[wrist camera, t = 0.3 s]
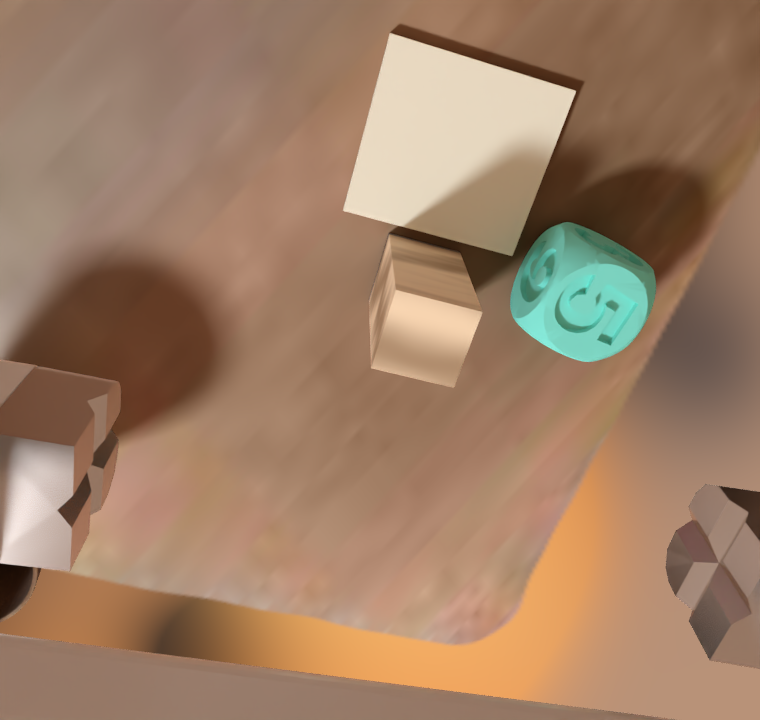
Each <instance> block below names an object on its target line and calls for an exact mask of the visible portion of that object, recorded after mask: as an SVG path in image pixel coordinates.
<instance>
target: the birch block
mask: <svg viewBox="0 0 760 720" xmlns="http://www.w3.org/2000/svg"><path fill="white" fill-rule="evenodd" d="M481 315H482V309H481V306H480V304H479V301H478V298H477V296H476V293H475V290H474V288H473V285H472V282H471V280H470V277H469V274H468V272H467V269H466V266H465V264H464V261H463V258H462V256H461V253H460V252H459V251H456V250H452V249H448V248H444V247H441V246H437V245H433V244H429V243H426V242H422V241H418V240H414V239H411V238H407V237H403V236H400V235H396V234H392V233H389V234H388V238H387V241H386V244H385V248H384V251H383V254H382V258H381V261H380V264H379V268H378V271H377V274H376V278H375V281H374V284H373V288H372V291H371V294H370V298H369V317H370V347H371V368H373V369H377V370H381V371H385V372H389V373H394V374H398V375H402V376H406V377H411V378H415V379H419V380H423V381H427V382H432V383H436V384H440V385H444V386H449V387H453V388H454V386H455V383H456V381H457V378H458V375H459V373H460V370H461V367H462V365H463V362H464V360H465V357H466V354H467V352H468V349H469V346H470V344H471V341H472V339H473V336H474V333H475V331H476V328H477V326H478V323H479V320H480V318H481Z"/></svg>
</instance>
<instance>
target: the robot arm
mask: <svg viewBox="0 0 760 720" xmlns="http://www.w3.org/2000/svg"><path fill="white" fill-rule="evenodd" d="M120 411H121V387H120V384H119V381H114V380H109V379H104V378H99V377H93V376H88V375H83V374H78V373H73V372H67V371H62V370H57V369H52V368H47V367H38V366H37V365H33V364H27V363H20V362H14V361H8V360H1V359H0V563H2V564H11V565H20V566H28V567H37V568H46V569H55V570H64V571H70V570H71V568H72V566H73V564H74V562H75V560H76V558H77V556H78V554H79V552H80V550H81V548H82V546H83V544H84V542H85V540H86V538H87V536H88V534H89V526H90V515H91V514H93V513H95V512H97V511H99V510H101V508H102V506H103V504H104V502H105V499H106V497H107V495H108V492H109V489H110V486H111V482H112V479H113V476H114V472H115V466H116V460H117V453H118V441H119V440H118V438H117V437H116V435H115V434H114V432H113V431H112V430H111V428H112V426H113V424H114V422H115V420H116V419H117V417H118V415H119V413H120ZM689 510H690V514H691V517H692V521H690V522H689V523H687V524H685V525H684V526H682V527H681V528H679V529H678V530H676V532H675V534H674V536H673V538H672V540H671V542H670V544H669V547H668V549H667V560H666V571H667V576H668V581H669V583H670V585H671V587H672V590H673V591H674V594H675V595H676V597H678V598H679V599H680V600H681V601H682V602H684V603H685V604H686V605H687V606H688V607H689V608H691V609H692V613H691V616H690V619H689V622H690V624H691V626H692V628H693V630H694V631H695V633H696V635H697V637H698V639H699V641H700V643H701V645H702V646H703V648H704V650H705V652H706V654H707V656H708V658H709V660H711V661H716V662H722V663H728V664H734V665H740V666H746V667H753V668H758V669H760V492H757V491H750V490H743V489H736V488H729V487H722V486H715V485H707V484H705V485H704V486H703V487H702V488H701V489H700V490H699V491H697V492H696V494H695V496H694V498H693V499H692V501H691V503H690V505H689ZM0 720H675V719H667V718H659V717H651V716H644V715H636V714H628V713H620V712H612V711H604V710H596V709H588V708H580V707H572V706H564V705H556V704H548V703H540V702H532V701H524V700H516V699H508V698H500V697H493V696H485V695H477V694H469V693H461V692H453V691H445V690H437V689H430V688H422V687H414V686H406V685H399V684H391V683H382V682H375V681H367V680H359V679H351V678H343V677H336V676H327V675H320V674H312V673H304V672H297V671H288V670H281V669H273V668H265V667H257V666H250V665H241V664H234V663H226V662H218V661H210V660H203V659H195V658H186V657H179V656H171V655H163V654H155V653H148V652H140V651H132V650H124V649H116V648H109V647H101V646H92V645H85V644H77V643H69V642H62V641H54V640H45V639H38V638H30V637H22V636H13V635H7V634H0Z"/></svg>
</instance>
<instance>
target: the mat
mask: <svg viewBox="0 0 760 720" xmlns="http://www.w3.org/2000/svg"><path fill="white" fill-rule="evenodd" d="M575 93H576V91H575V90H573V89H570V88H566V87H563V86H560V85H557V84H553V83H550V82H547V81H544V80H541V79H537V78H534V77H531V76H528V75H525V74H521V73H518V72H515V71H512V70H509V69H505V68H502V67H499V66H496V65H492V64H489V63H486V62H483V61H480V60H476V59H473V58H470V57H467V56H464V55H460V54H457V53H454V52H451V51H448V50H444V49H441V48H438V47H435V46H431V45H428V44H425V43H422V42H419V41H415V40H412V39H409V38H406V37H403V36H399V35H396V34H393V33H390V34H389V38H388V42H387V46H386V49H385V53H384V57H383V61H382V65H381V68H380V72H379V76H378V80H377V83H376V87H375V91H374V95H373V99H372V102H371V106H370V110H369V114H368V117H367V121H366V125H365V129H364V133H363V136H362V140H361V144H360V148H359V151H358V155H357V159H356V163H355V167H354V170H353V174H352V178H351V182H350V185H349V189H348V193H347V197H346V200H345V204H344V209H343V211H346V212H350V213H354V214H357V215H361V216H365V217H368V218H372V219H376V220H379V221H383V222H387V223H391V224H394V225H398V226H402V227H405V228H409V229H413V230H417V231H420V232H424V233H428V234H431V235H435V236H439V237H443V238H446V239H450V240H454V241H457V242H461V243H465V244H469V245H472V246H476V247H480V248H483V249H487V250H491V251H495V252H498V253H502V254H506V255H509V256H513V253H514V251H515V248H516V246H517V243H518V240H519V238H520V235H521V233H522V230H523V227H524V225H525V222H526V220H527V217H528V215H529V212H530V209H531V207H532V204H533V202H534V199H535V197H536V194H537V191H538V189H539V186H540V184H541V181H542V178H543V176H544V173H545V171H546V168H547V166H548V163H549V160H550V158H551V155H552V153H553V150H554V148H555V145H556V142H557V140H558V137H559V135H560V132H561V129H562V127H563V124H564V122H565V119H566V117H567V114H568V111H569V109H570V106H571V104H572V101H573V98H574V96H575Z"/></svg>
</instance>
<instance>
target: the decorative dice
mask: <svg viewBox="0 0 760 720" xmlns="http://www.w3.org/2000/svg"><path fill="white" fill-rule="evenodd" d="M655 293H656V280H655V275H654V270H653V269H652V267H651V266H650V265H649V264H648V263H646V262H645V261H644V260H643V259H641V258H640V257H638V256H637V255H636V254H634V253H632V252H631V251H629V250H628V249H626V248H625V247H623V246H621V245H619V244H618V243H616V242H614V241H612V240H610V239H609V238H607V237H605V236H603V235H601V234H599V233H597V232H595V231H592V230H590V229H588V228H585V227H583V226H580V225H578V224H574V223H571V222H564V223H561V224H558V225H555V226H553V227H551V228H549V229H547V230H546V231H545V232H544V233H542V234H541V235H540V237H539V238H538V239H537V240H536V241H535V242H534V244H533V245H532V247H531V248H530V250H529V251H528V253H527V254H526V256H525V258H524V260H523V262H522V264H521V266H520V268H519V271H518V273H517V276H516V278H515V281H514V285H513V288H512V293H511V300H510V307H511V312H512V315H513V318H514V319H515V321H516V322H517V323H518V325H519V326H520V327H521V328H522V329H524V330H525V331H526V332H527V333H528V334H529V335H531V336H532V337H533V338H535V339H536V340H538V341H539V342H541V343H542V344H544V345H546V346H547V347H549V348H551V349H553V350H555V351H556V352H559V353H561V354H563V355H565V356H568V357H570V358H573V359H576V360H580V361H585V362H592V361H597V360H601V359H604V358H607V357H610V356H612V355H614V354H616V353H618V352H620V351H622V350H623V349H624V348H626V347H627V346H628V345H629V344H630V343H631V342H632V341H633V340H634V339H635V338H636V336H637V335H638V334H639V332H640V331H641V329H642V328H643V326H644V324H645V323H646V321H647V319H648V316H649V314H650V312H651V309H652V306H653V303H654V299H655Z"/></svg>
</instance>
